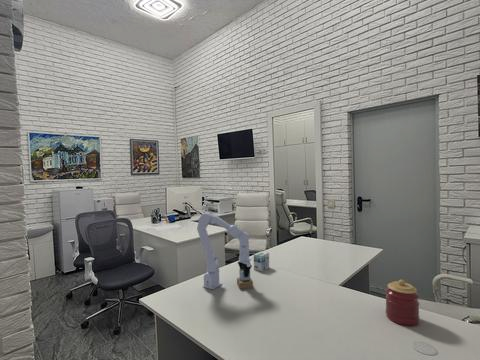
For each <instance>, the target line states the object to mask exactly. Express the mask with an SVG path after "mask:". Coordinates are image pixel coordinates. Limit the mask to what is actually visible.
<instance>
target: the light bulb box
mask: <svg viewBox="0 0 480 360" xmlns="http://www.w3.org/2000/svg"><path fill="white" fill-rule="evenodd" d="M269 268H270V252H268V251H263V250H261V251H259V252H256V253H254V254H253V270H254V271H258V272H263V271H265V270H267V269H269Z"/></svg>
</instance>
